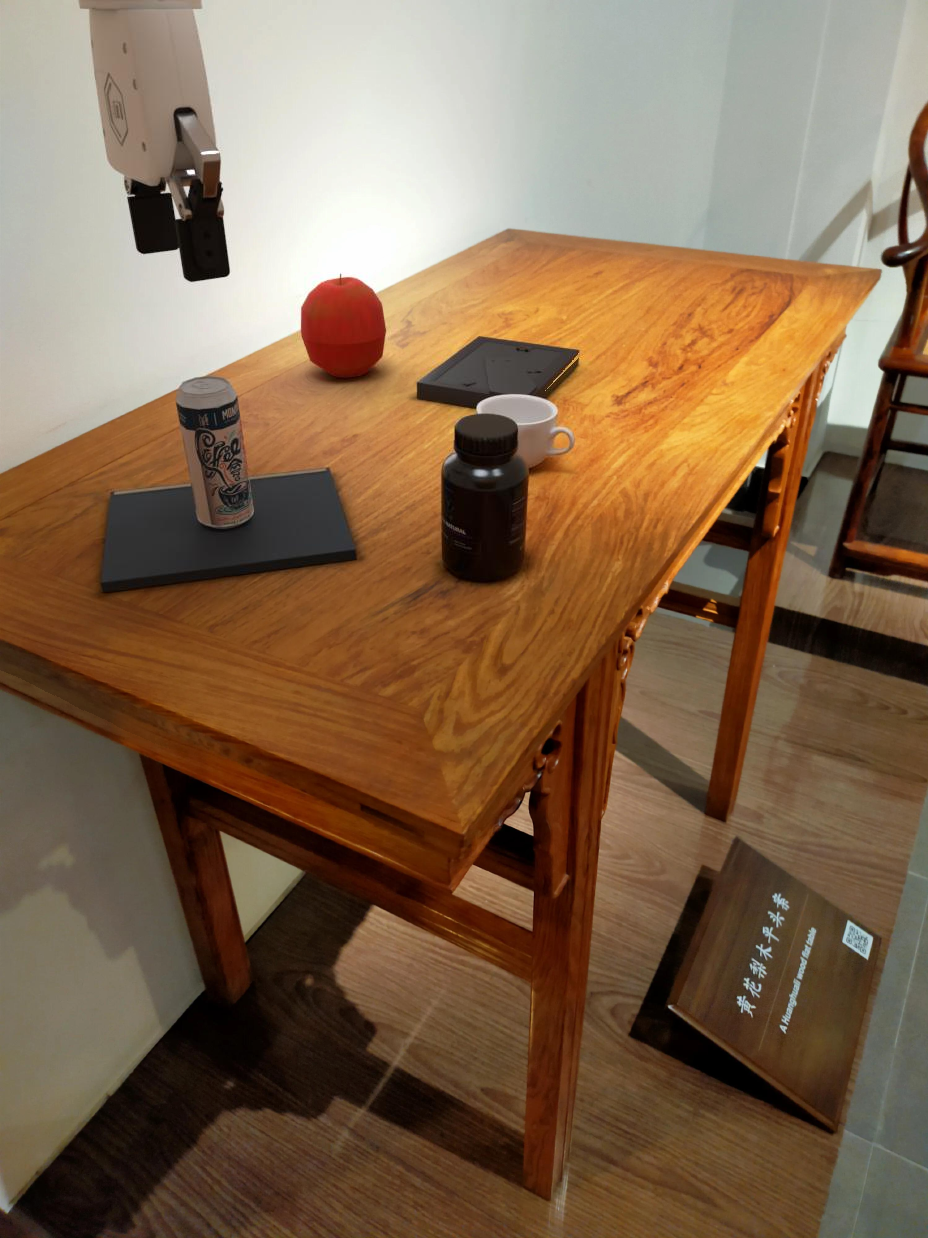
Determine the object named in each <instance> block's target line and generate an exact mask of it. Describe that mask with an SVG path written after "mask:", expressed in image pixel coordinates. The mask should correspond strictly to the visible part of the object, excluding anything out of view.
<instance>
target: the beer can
mask: <svg viewBox="0 0 928 1238" xmlns="http://www.w3.org/2000/svg"><path fill="white" fill-rule="evenodd" d="M236 391H237V390H236V389H235V388H234V386H232V384H231V382H230V381H229V380H227V378H225V377H221V376H214V375H208V376H207V375H206V376H197V377H193V378H189V379H187V380H184V381H183V382H181V384H180V385H179V386H178V391H177V394H176V397H175V405H176V410H177V411H176V412H177V416H178V420H179V428H180V431H181V432H180V433H181V437H182V443H183V448H184V454H185V459H186V464H187V465H186V466H187V471H188V475H189V481H190V482H189V483H191V487H192V493H193V498H194V503H195V509H196V514H197V518H198V520H199V521H200V522H201V523H202V524H204V525H207V526H210V527H213V528H217V529H227V528H233V527H236V526H239V525H241V524H242V523H244V522H245V521H247V520H249V519H250V518H251V517H252V515H253V512H254V508H253V501H252V494H251V487H250V480H249V476H250V473H249V466H248V461H247V453H246V447H245V440H244V432H243V424H242V418H241V412H240V411H241V410H240V405H239V398H238V397H239V396H238V392H236Z"/></svg>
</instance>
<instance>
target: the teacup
mask: <svg viewBox="0 0 928 1238" xmlns="http://www.w3.org/2000/svg"><path fill="white" fill-rule="evenodd" d="M475 412H476V413H475V414H481V413H484V414H485V413H489V414H498V415H502V416H505V417H508V418H510V419H512V420H513V421H515V422H516V424H517V426H518V451H517V453H518V454H520V455H521V456H522V457H523V459H524V460H525V462H526V463H527V466H528V469H529V470H530V469H531V468H533V467H535V466H537V465H539V464H541V463H542V462H544V460H545V459H546V458H547V457H555V456H561V455H565V454H567V453H569V452H570V451H571V450H572V449H573V448H574V446H575V442H576V441H575V440H576V439H575V435H574V434H573V432H572V431H571V430H570V429H569V428H568V427H565V426H557V424H558V413H559V410H558V407H557V406H556V404H554V402H551V401H549V400H548V399H546V398H545V399H543V398H539V397H535V396H530V395H520V394H508V395H499V396H494V397H490V398H487V399H485V400H483V401H481V402H480V403H479V404H478V405H477V408H476V411H475ZM560 434H565V435H566V436H567V437H568V441H569V443H568V446H567V447H566V448H555V447H554V443H555V439H556V437H557V436H558V435H560Z"/></svg>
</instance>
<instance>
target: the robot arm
mask: <svg viewBox="0 0 928 1238" xmlns="http://www.w3.org/2000/svg"><path fill="white" fill-rule="evenodd" d="M202 3H203V2H202V0H78V5H79V9H83V10H88V18H89V19H88V21H89V36H90V46H91V47H90V48H91V55H92V56H91V58H92V64H93V66H92V67H93V73H94V80H95V86H96V95H97V101H98V107H99V114H100V115H99V116H100V122H101V128H102V136H103V140H104V147H105V153H106V158H107V161H108V164H109V166H110V167H111V168H113V170H115V171H116V172H118V173H119V174H121V175H123V186H124V189H125V193H126V194H127V196H126V199H127V204H128V210H129V216H130V222H131V225H132V226H131V227H132V232H133V233H132V234H133V239H134V242H135V249H136V251H137V252H138V253H140V254H141V255H148V254H149V255H150V254H157V253H164V252H172V251H177V250H179V257H180V264H181V271H182V275H183V279H184V280H186V281H188V282H189V283H194V282H202V281H209V280H215V279H222V278H227V277H228V276H229V275H230V273H231V268H230V260H229V252H228V244H227V237H226V236H227V235H226V230H225V222H224V216H225V205H224V203H223V200H222V195H223V192H224V187H223V186H222V185H223V182H221V166H222V158H221V152H220V151H219V148H218V144H217V143H218V142H217V134H216V126H215V119H214V112H213V106H212V100H211V94H210V88H209V82H208V77H207V71H206V70H207V69H206V66H205V59H204V55H203V50H202V44H201V40H200V35H199V30H198V26H197V20H196V17H195V13H194V12H195V11H194V10H201V9H203V4H202ZM167 187H168V189H169V192H166V190H167ZM184 187H186V188H187V187H189V188H188V192H186V190H185V188H184ZM174 206H175V207H176V210H177V213H178V215H179V218H176V214H175V207H174Z"/></svg>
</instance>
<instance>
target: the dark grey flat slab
mask: <svg viewBox="0 0 928 1238" xmlns="http://www.w3.org/2000/svg"><path fill="white" fill-rule="evenodd" d="M249 480H250V487H251V494H252V501H253V508H254V512H253V515H252V517H251V518H250V519H249V520H247V521H245V522H244V523H242V524H241V525H239V526H236V527H233V528H227V529H217V528H213V527H210V526H207V525H204V524H202V523H201V522H200V521H199V520H198V518H197V514H196V509H195V503H194V498H193V493H192V487H191V482H185V483H174V484H166V485H165V484H164V485H158V486H150V487H149V486H147V487H139V488H131V489H122V490H113V491H110V493H109V501H108V511H107V520H106V521H107V522H106V527H105V528H106V530H105V539H104V547H103V555H102V565H101V574H100V575H101V576H100V587H101V590H102V593H104V594H105V593H113V592H121V591H127V590H135V589H136V590H137V589H142V588H151V587H158V586H166V585H173V584H180V583H181V584H182V583H188V582H195V581H202V580H203V581H204V580H211V579H219V578H226V577H233V576H241V575H247V574H255V573H262V572H271V571H277V570H285V569H293V568H301V567H307V566H308V567H309V566H315V565H323V564H329V563H330V564H331V563H336V562H337V563H338V562H347V561H352V560H357V558H358V557H357V549H356V546H355V543H354V539H353V536H352V533H351V529H350V526H349V523H348V520H347V518H346V517H347V516H346V514H345V512H344V508H343V506H342V502H341V499H340V496H339V493H338V490H337V487H336V484H335V481H334V478H333V475H332V472H331V468H330V467H329V466H328V467H326V466H325V467H319V468H310V469H301V470H292V471H284V472H282V471H281V472H274V473H265V474H256V475H249Z"/></svg>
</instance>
